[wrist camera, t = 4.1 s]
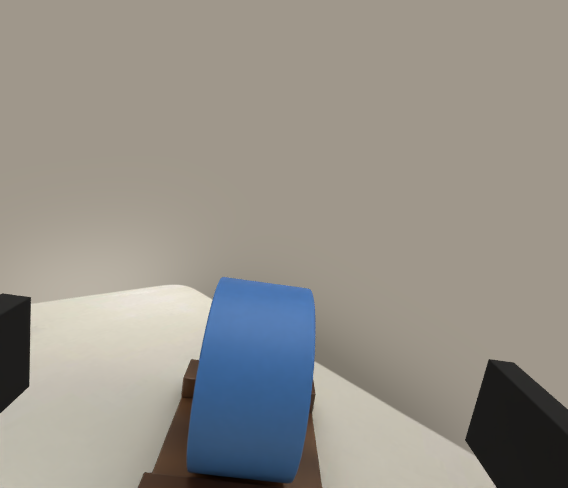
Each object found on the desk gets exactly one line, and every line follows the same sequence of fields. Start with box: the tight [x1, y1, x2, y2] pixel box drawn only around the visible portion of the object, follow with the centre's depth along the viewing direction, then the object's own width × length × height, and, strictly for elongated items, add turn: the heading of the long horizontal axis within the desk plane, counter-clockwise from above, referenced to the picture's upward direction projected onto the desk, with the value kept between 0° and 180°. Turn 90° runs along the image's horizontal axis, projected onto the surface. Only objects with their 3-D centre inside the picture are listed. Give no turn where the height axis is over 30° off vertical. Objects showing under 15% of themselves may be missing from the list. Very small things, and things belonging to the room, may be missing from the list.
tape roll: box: [187, 277, 315, 484], centre depth 22 cm, size 10×5×10 cm, turn 1°
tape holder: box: [138, 359, 322, 488], centre depth 23 cm, size 15×9×2 cm, turn 1°
